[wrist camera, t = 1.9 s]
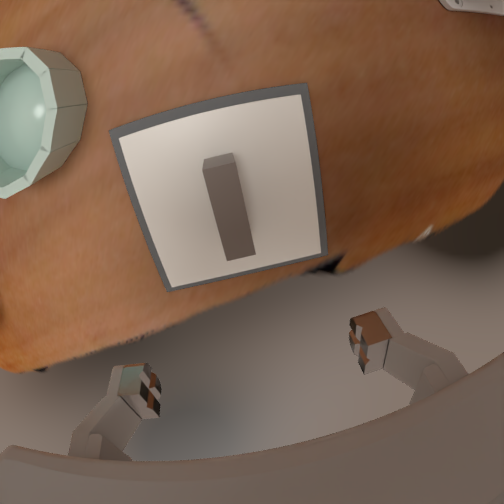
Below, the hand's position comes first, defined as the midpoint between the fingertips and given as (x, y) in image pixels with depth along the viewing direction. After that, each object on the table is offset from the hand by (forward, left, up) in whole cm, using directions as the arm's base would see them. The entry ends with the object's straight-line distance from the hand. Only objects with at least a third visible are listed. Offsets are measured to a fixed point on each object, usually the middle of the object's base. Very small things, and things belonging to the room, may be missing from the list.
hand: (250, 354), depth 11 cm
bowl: (+17, -14, -19) cm, 29 cm away
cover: (0, 0, -19) cm, 19 cm away
